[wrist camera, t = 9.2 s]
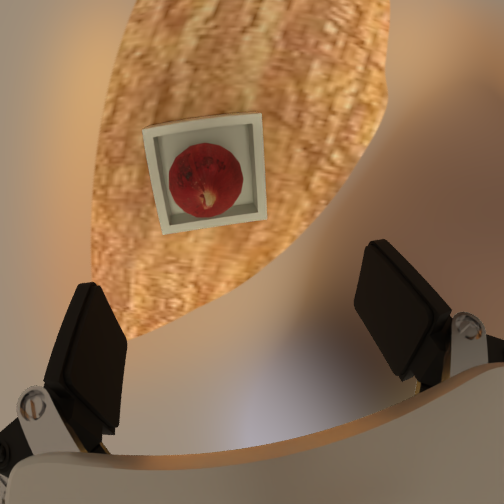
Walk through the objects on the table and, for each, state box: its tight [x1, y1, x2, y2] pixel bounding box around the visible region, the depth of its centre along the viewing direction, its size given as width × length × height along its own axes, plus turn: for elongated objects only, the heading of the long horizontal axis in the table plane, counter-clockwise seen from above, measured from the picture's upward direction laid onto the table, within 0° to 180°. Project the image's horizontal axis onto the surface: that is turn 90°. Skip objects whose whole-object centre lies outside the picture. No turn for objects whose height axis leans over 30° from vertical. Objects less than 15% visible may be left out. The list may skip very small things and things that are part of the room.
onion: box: [169, 143, 244, 218], centre depth 21 cm, size 6×6×8 cm
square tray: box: [142, 111, 267, 235], centre depth 24 cm, size 10×10×3 cm
